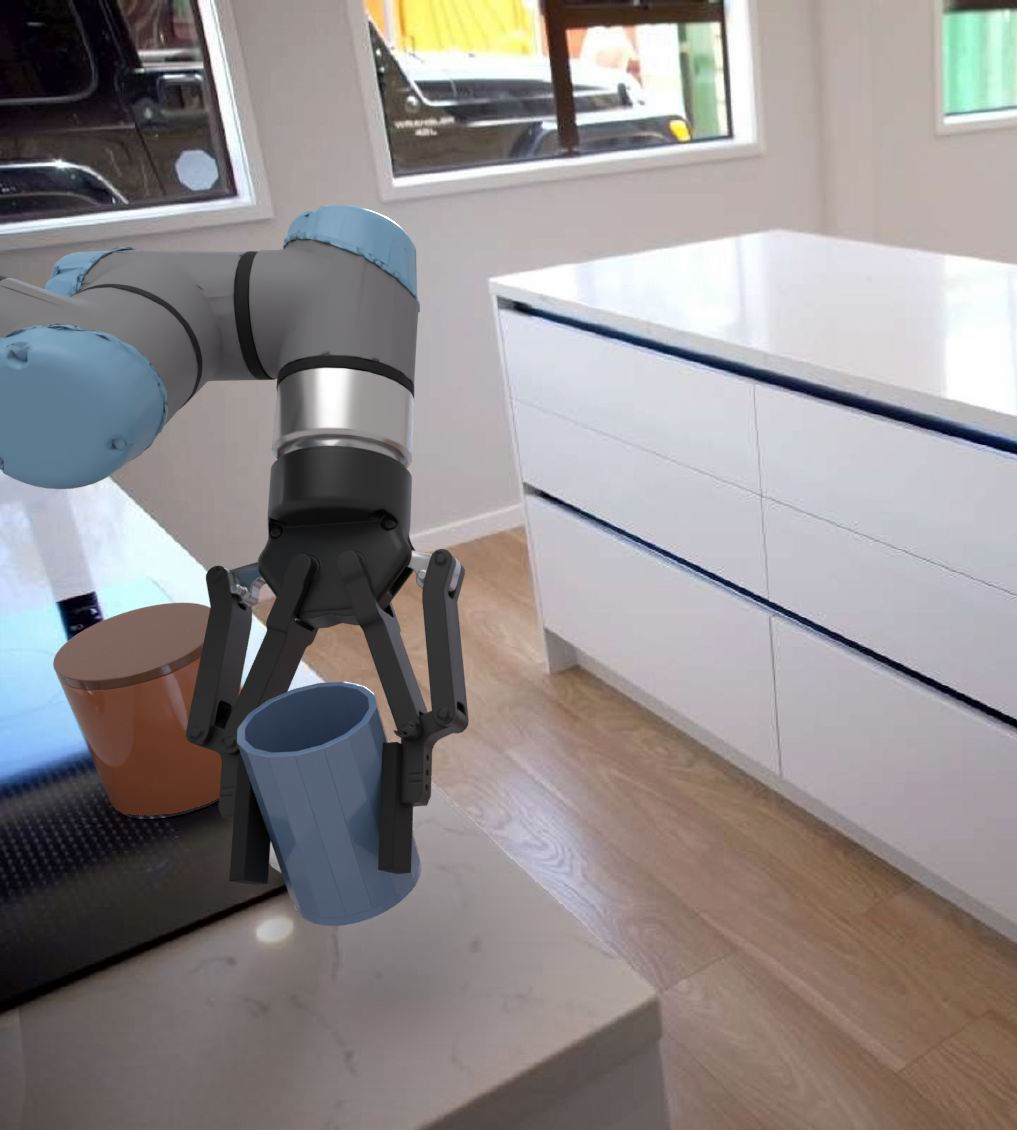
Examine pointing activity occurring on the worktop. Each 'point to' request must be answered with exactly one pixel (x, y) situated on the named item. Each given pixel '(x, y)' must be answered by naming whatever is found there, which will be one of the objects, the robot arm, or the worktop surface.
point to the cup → (324, 799)
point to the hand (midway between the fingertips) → (322, 876)
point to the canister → (142, 707)
